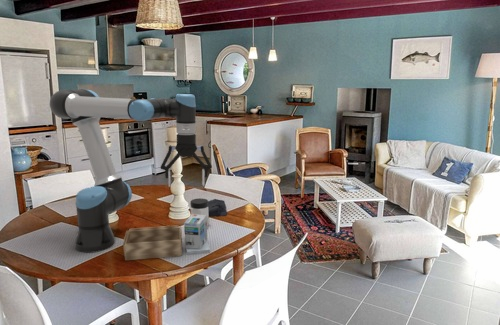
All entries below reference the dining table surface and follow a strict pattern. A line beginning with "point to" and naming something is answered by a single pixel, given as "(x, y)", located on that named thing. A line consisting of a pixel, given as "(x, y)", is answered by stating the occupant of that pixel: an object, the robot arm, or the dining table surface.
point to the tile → (204, 249)
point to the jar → (200, 207)
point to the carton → (152, 242)
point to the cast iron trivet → (216, 208)
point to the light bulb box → (195, 231)
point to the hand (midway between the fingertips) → (186, 185)
